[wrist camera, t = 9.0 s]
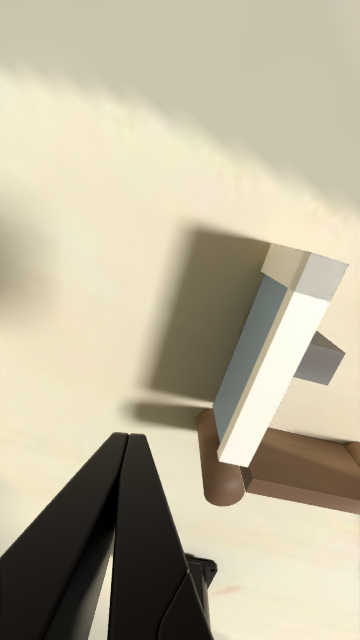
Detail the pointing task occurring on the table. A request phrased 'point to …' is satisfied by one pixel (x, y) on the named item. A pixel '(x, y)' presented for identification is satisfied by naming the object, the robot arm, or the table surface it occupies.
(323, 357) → the fence
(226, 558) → the table surface
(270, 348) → the gate
